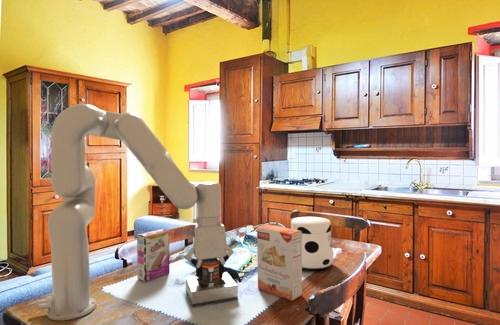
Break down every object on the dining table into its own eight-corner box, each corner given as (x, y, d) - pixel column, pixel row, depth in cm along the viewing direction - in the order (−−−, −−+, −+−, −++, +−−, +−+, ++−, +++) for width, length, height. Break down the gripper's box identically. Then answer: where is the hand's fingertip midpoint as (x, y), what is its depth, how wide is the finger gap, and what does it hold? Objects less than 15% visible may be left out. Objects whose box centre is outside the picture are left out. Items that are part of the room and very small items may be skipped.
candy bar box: (145, 283, 115) (144, 236, 114) (137, 280, 117) (135, 234, 117) (170, 273, 124) (169, 230, 123) (162, 270, 127) (161, 228, 126)
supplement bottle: (216, 292, 101) (215, 256, 100) (198, 291, 102) (197, 255, 101) (221, 285, 106) (221, 250, 106) (204, 283, 108) (203, 249, 107)
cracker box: (256, 289, 108) (256, 226, 107) (268, 283, 113) (267, 223, 112) (291, 302, 99) (291, 233, 98) (302, 295, 103) (302, 229, 102)
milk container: (341, 264, 130) (341, 219, 130) (318, 277, 118) (317, 227, 117) (304, 255, 142) (304, 214, 142) (280, 266, 130) (279, 221, 129)
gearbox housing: (192, 307, 96) (192, 292, 96) (186, 291, 108) (185, 277, 107) (237, 299, 101) (237, 285, 101) (227, 284, 112) (227, 271, 112)
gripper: (183, 225, 97) (184, 286, 98) (239, 221, 103) (239, 278, 103) (180, 220, 104) (181, 277, 105) (232, 216, 110) (232, 270, 110)
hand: (210, 277), depth 104 cm, fingers closed on supplement bottle, 5 cm apart
